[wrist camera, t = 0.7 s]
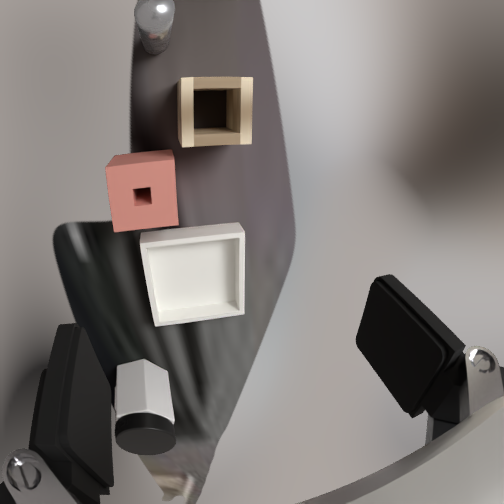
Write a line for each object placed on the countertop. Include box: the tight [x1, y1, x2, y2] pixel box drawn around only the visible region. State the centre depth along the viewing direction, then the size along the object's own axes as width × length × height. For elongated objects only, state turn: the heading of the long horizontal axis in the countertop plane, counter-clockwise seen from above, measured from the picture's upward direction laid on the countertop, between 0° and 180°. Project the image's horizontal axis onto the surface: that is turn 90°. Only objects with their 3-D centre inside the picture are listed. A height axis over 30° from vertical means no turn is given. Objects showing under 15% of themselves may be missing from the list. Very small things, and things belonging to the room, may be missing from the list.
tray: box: [140, 222, 245, 326], centre depth 36 cm, size 11×11×3 cm
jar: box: [115, 359, 176, 455], centre depth 38 cm, size 9×8×12 cm
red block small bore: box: [105, 149, 178, 232], centre depth 28 cm, size 6×6×6 cm
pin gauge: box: [134, 0, 175, 54], centre depth 19 cm, size 3×3×12 cm
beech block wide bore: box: [177, 77, 253, 147], centre depth 27 cm, size 6×6×6 cm
